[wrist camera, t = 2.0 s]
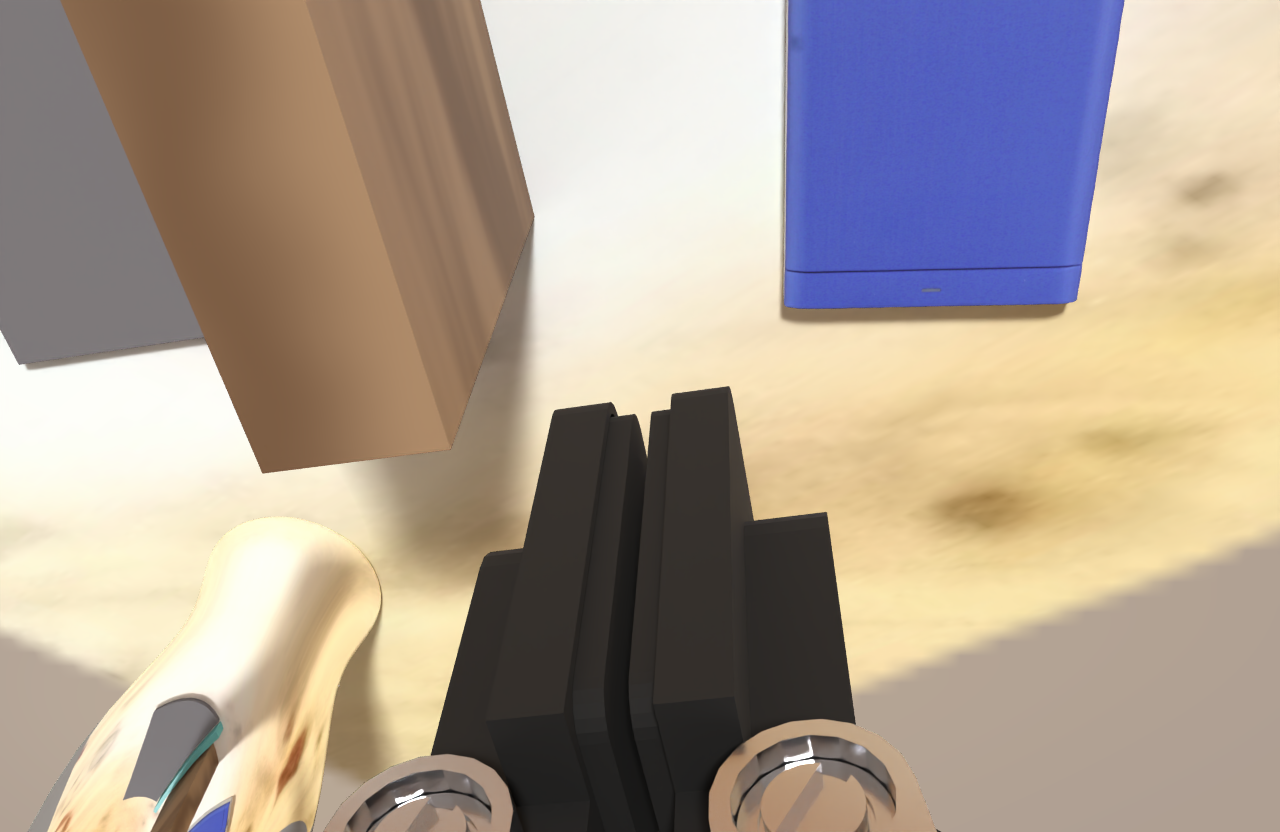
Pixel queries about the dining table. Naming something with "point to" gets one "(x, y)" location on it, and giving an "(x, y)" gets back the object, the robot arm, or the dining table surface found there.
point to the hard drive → (942, 149)
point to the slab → (324, 204)
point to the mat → (72, 207)
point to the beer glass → (231, 696)
